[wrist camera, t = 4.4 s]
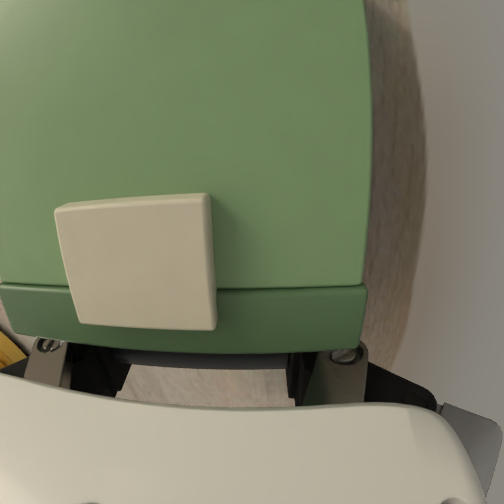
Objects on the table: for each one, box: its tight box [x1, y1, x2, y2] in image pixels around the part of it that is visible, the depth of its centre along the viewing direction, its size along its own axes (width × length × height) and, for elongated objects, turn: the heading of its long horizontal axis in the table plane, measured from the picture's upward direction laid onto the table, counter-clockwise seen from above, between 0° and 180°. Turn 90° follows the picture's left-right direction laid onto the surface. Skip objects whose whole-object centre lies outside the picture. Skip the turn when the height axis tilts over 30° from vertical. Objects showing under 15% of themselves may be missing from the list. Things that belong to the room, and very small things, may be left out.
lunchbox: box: [0, 0, 373, 370], centre depth 7 cm, size 7×8×15 cm
